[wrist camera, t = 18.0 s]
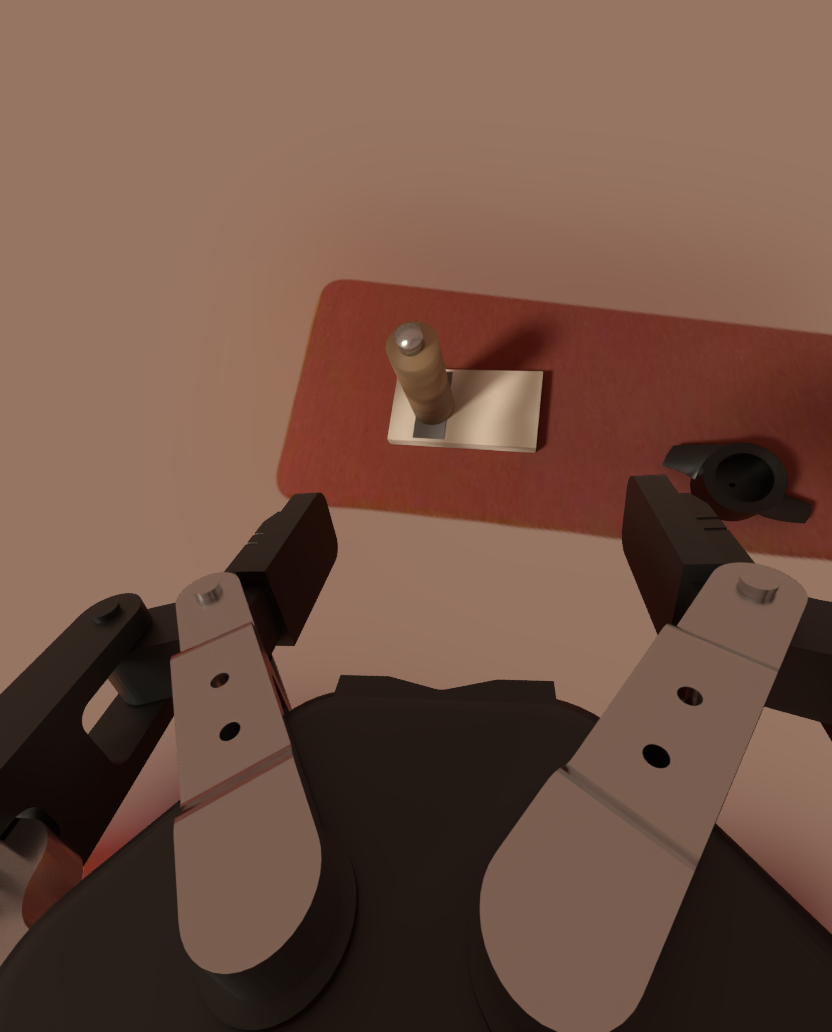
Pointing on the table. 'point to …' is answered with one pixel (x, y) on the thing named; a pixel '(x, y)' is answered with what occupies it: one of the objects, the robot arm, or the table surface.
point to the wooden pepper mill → (421, 371)
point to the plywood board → (477, 413)
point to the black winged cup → (738, 481)
